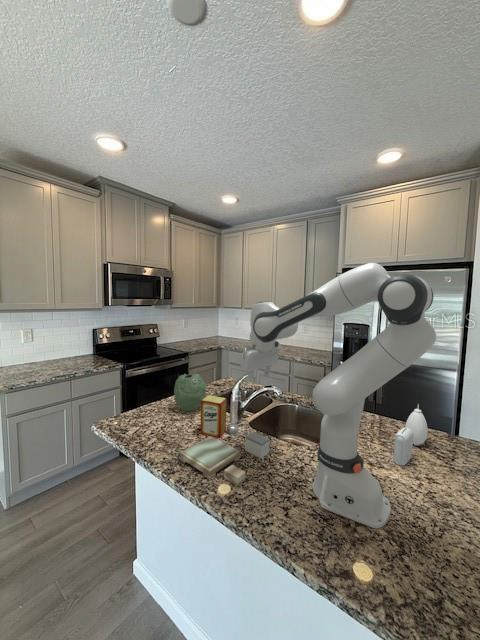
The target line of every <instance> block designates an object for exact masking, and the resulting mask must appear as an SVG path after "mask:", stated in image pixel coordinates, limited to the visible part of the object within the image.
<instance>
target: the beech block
mask: <svg viewBox="0 0 480 640" xmlns="http://www.w3.org/2000/svg"><path fill="white" fill-rule="evenodd" d="M223 475H224V476H223V477H224V479H225V480H226V481H228V482H230V483H231V484H234V485H235V486H237V487H238V486H240V485H241V484H242V483H243V482H245V481H246V471H245V470H242V469H240V468H239V467H237V466H236V465H233V464H231V465H229V466H228V467H227V468H225V469H224V473H223Z"/></svg>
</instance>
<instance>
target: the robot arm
mask: <svg viewBox="0 0 480 640" xmlns="http://www.w3.org/2000/svg"><path fill="white" fill-rule="evenodd" d="M433 301H434V291H433V290H432V288H431V286H430V285H429V284H428V282H427V281H426V280H424V279H423V278H421V277H419V276H416V275H412V274H408V273H401V274H395V275H393V276H390V275H389V273H388V271H387V270H386V269H385V268H384V266H382V265H381V264H380V263H377V262H368V263H365V264H362V265H359V266H357V267H354V268H352V269H350V270H347V271H346V272H343V273H341V274H340V275H338V276H336V277H334V278H333V279H331V280H330V281H328V282H327V283H325V284H323V285H322V286H320V287H319V288H317V289H316V290H313V291H312V292H310V293H308V294H307V295H305V296H303V297H301V298H299V299H298V300H295V301H293V302H291V303H289V304H286V305H285V306H283V307H281V308H280V307H278V306H277V305H276V304H274V302H272V301H267V300H265V301H257V302H255V303H254V304H253V305H252V307H251V311H250V323H249V324H250V332H249V333H250V334H249V345H248V346H245V347H244V350H243V351H242V354H241V359H240V366H239V368H240V371H241V372H244V373H247V376H248V381H249V383H255V382H256V377H255V376H254V374H255V371H258V370H261V369H264V368H265V370H264V372H263V376H264V377H266V378H268V377H270V372H271V369H272V366H273V365H277V363H278V361H279V349H280V348H279V347H280V344H281V343H280V341H278V340H282V339H287V338H290V337H292V336H294V335H295V334H296V333H297V330H298V327H299V323H300V322H303V321H305V320H307V319H310V318H316V317H317V318H318V317H326V316H336V315H341V314H345V313H348V312H351V311H353V310H356V309H358V308H360V307H363V306H364V305H366V304H369V303H373V302H377V303H378V305H379V307H380V308H381V311H382V312H383V313H384V315H385V317H386V319H387V321H388V322H389V324H388V325H387V326H386V327H385V328H384V329H383V330H382V331H380V333H378V334H377V335H376V336H374V338H372V339H371V340H370V341H369V342H367V343H366V344H365V345H364V346H362V347H361V348H360V349H359V350H358V351H356V353H354V354H353V355H352V356H350V357H349V358H348V359H346V360H345V361H343V362H342V363H341V364H339V365H338V366H337V367H336V368H334V369H333V370H332V371H330V372H329V373H328V374H326V375H325V376H324V377H323V378H322V379H320V380H319V381H318V383H317V384H316V385H315V386H314V388H313V390H312V401H313V405H314V406H315V407H316V408H317V410H318V411H319V412H321V413H322V414H323V417H322V419H321V424H320V436H319V438H320V439H319V445H318V448H317V449H318V450H317V461H318V462H317V463H318V464H317V469H316V473H315V477H314V480H313V481H312V482H313V483H312V491H313V493H314V495H315V496H316V498H317V500H318V502H319V505H320V507H321V508H322V509H324V510H327V511H329V512H331V513H334V514H337V515H339V516H341V517H344V518H347V519H349V520H353V521H355V522H357V523H359V524H362V525H365V526H367V527H369V528H373V529H377V530H378V529H381V528H382V527H384V526H385V525H386V524H387V522H388V521H389V519H390V517H391V511H392V510H391V509H392V507H391V503H390V501H389V499H388V498H387V496H385V495H384V494H383V491H382V485H381V484H380V482H379V481H378V480H377V479H376V478H375V477H374V476H373V474H371V473H370V471H368V470H367V469H366V468H365V467H364V462H365V459H366V458H365V457H366V456H365V455H363V456H362V457H361V455H360V454H359V452H358V445H359V431H360V425H361V420H362V416H363V413H364V407H365V401H366V398H368V397H369V396H370V395H372V394H373V393H374V392H375V391H377V390H378V389H380V388H381V387H382V386H384V385H385V384H387V383H388V382H390V380H392V379H394V378H395V377H397V375H399V374H400V373H402V372H403V371H406V369H407V368H409V367H411V366H412V365H413V364H414V363H416V362H417V361H418V360H419V359H421V357H423V356H424V355H425V354H426V352H427V351H429V350H430V349H431V347H432V346H434V344H435V342H436V340H437V334H436V333H437V332H436V331H435V329H434V327H433V325H431V323H430V322H429V321H427V319H426V318H425V313H426V312H427V311H428V310H429V309H430V307H432V304H433Z"/></svg>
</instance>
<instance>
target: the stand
mask: <svg viewBox="0 0 480 640" xmlns="http://www.w3.org/2000/svg"><path fill="white" fill-rule="evenodd" d="M240 459H241V450H239V449H237V448H235V447H233V446H232V445H229V444H227V443H226V442H224V441H221V440H219V439H218V438H215V437H211V436H208V437H207V438H205V439H203V440H201V441H199V442H197V443H195V444H193V445H191V446H190V447H187V448H186V449H184V450H182V451H180V452H179V461H181V462H182V463H184V464H186V463H187V464H189V465H190V466H192V467H193V468H195V469H197V470H198V471H200V472H202V475H203V477H205V478H206V479H208V480H211V479H213V478H214V477H215V476H217V472H219V471H220V470H221V469H223V468H225V467H226V466H228V465H229V464H231V463H232V462H234V463H236V462H237V461H239V460H240Z"/></svg>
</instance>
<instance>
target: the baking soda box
mask: <svg viewBox="0 0 480 640" xmlns="http://www.w3.org/2000/svg"><path fill="white" fill-rule="evenodd" d="M227 401H228V400H227V398H226V397H220V396H217V395H210V394H209V395H208V394H207V395H205V398H203V399H202V400H201V406H200V435H201V436H202V435H203V436H205V437H210V436H211V437H213V438H215V439H221V438H222V437H223V436H224V434H225V433H227Z"/></svg>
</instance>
